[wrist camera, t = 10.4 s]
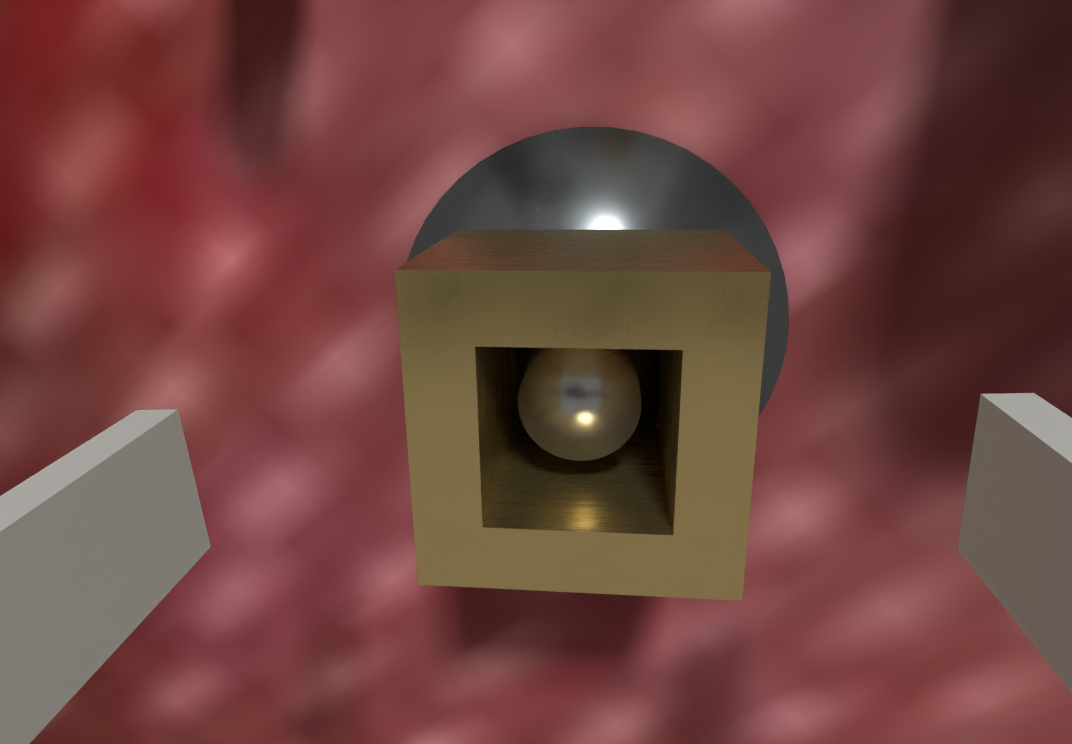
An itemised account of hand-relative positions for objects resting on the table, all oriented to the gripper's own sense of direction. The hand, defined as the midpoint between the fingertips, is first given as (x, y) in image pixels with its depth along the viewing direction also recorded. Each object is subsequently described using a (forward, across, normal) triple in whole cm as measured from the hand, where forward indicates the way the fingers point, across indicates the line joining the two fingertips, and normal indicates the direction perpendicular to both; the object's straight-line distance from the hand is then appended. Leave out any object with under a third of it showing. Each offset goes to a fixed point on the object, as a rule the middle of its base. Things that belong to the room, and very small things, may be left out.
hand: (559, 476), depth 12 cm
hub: (+12, 0, -1) cm, 12 cm away
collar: (+8, 0, -1) cm, 9 cm away
